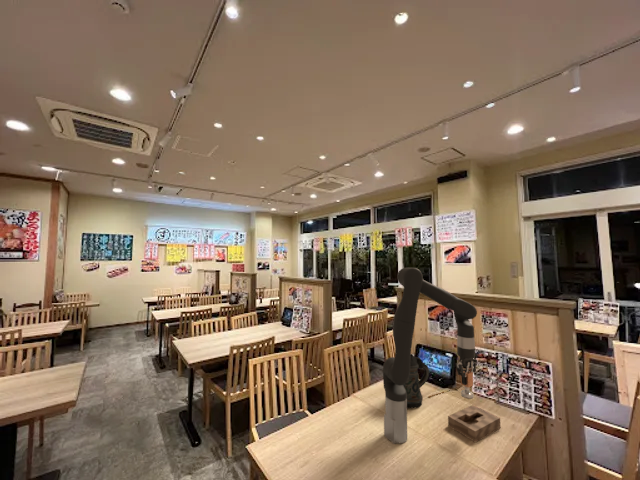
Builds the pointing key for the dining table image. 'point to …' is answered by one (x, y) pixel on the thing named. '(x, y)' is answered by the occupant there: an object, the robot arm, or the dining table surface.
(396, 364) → the robot arm
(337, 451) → the dining table surface
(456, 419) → the keyhole plate
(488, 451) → the dining table surface
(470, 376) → the t peg
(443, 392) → the axe
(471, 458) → the dining table surface
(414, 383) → the beer stein
